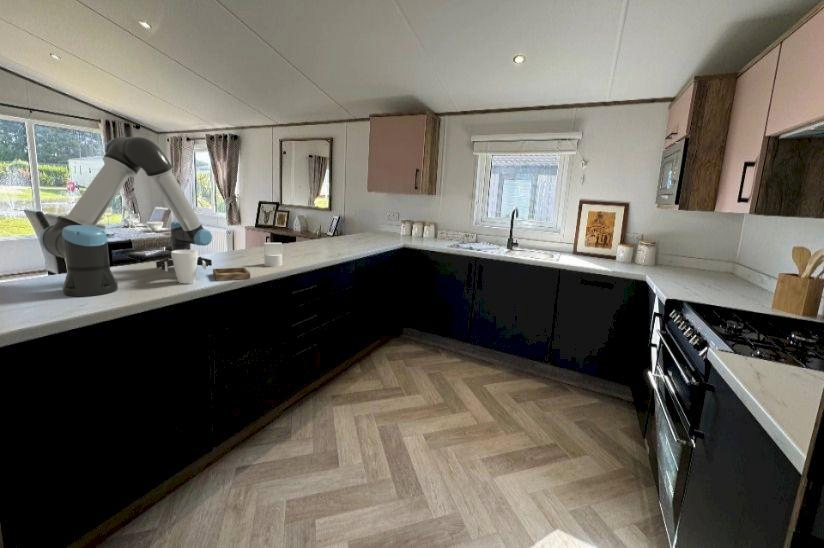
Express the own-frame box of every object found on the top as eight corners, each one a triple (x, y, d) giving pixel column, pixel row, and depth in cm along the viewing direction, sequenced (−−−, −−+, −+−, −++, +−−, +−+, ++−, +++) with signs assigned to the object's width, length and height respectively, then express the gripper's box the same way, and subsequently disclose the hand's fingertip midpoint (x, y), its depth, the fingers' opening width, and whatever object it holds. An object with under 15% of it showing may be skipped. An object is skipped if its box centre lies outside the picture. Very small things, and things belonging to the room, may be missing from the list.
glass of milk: (265, 266, 195) (265, 244, 193) (263, 263, 203) (263, 241, 200) (283, 266, 199) (283, 244, 197) (280, 263, 207) (280, 242, 205)
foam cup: (187, 285, 151) (185, 254, 148) (167, 283, 152) (165, 252, 150) (204, 280, 160) (202, 251, 157) (186, 278, 161) (184, 249, 159)
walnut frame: (216, 280, 161) (216, 275, 160) (213, 274, 172) (212, 268, 171) (250, 278, 168) (250, 273, 168) (244, 272, 179) (244, 267, 179)
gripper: (214, 264, 177) (220, 274, 160) (150, 267, 163) (149, 278, 146) (213, 249, 175) (219, 257, 158) (148, 250, 161) (148, 259, 144)
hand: (186, 267), depth 152 cm, fingers open, 13 cm apart
